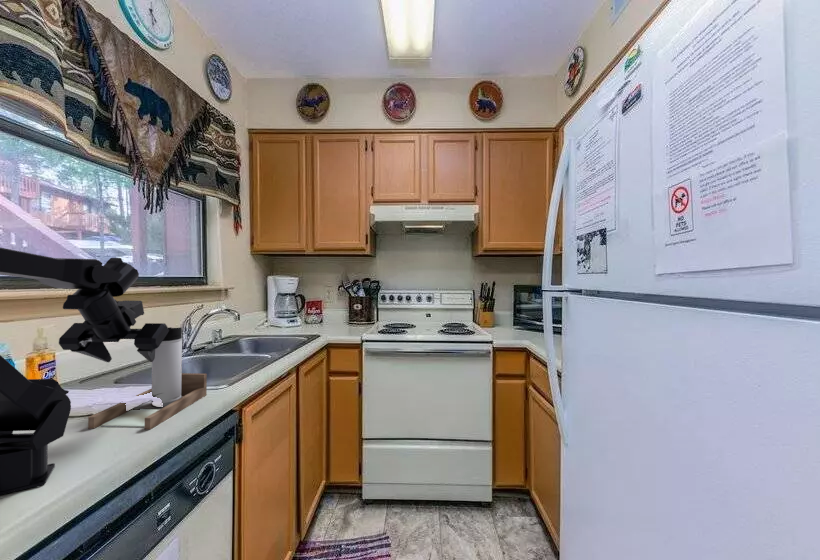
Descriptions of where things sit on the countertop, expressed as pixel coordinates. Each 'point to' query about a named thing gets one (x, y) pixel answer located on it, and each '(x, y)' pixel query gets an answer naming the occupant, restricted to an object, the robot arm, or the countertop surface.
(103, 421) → the shelf lane
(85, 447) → the countertop surface
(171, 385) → the travel mug
